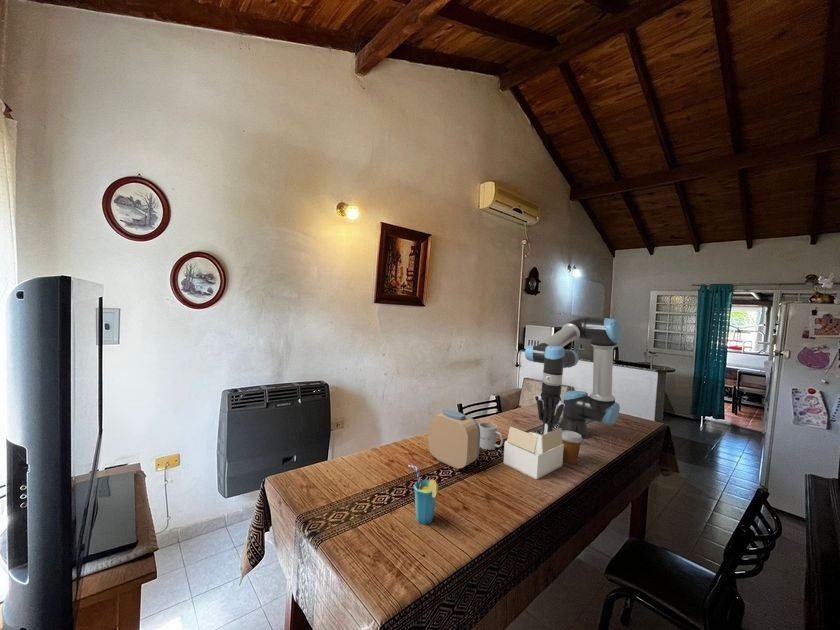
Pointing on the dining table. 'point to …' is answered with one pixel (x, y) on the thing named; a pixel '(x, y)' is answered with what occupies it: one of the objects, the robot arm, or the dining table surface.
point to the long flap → (551, 440)
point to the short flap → (522, 439)
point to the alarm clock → (454, 438)
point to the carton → (533, 458)
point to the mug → (489, 436)
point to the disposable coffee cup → (571, 446)
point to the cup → (424, 498)
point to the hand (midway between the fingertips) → (546, 438)
